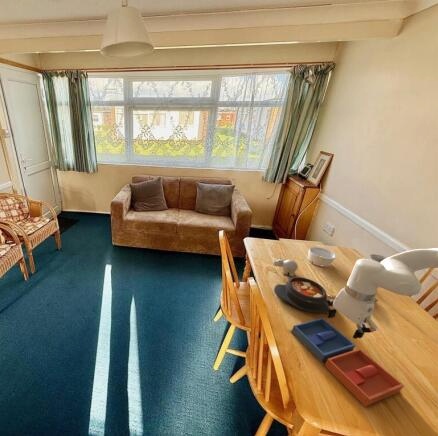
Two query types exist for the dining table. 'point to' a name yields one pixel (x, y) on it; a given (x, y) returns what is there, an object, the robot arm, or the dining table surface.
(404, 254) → the robot arm
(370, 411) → the dining table surface
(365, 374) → the red spoon
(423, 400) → the dining table surface
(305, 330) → the blue bin
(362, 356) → the red bin
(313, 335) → the blue spoon
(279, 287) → the casserole
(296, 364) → the dining table surface
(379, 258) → the chalice
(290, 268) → the chubby cartoon animal
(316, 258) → the ramekin
